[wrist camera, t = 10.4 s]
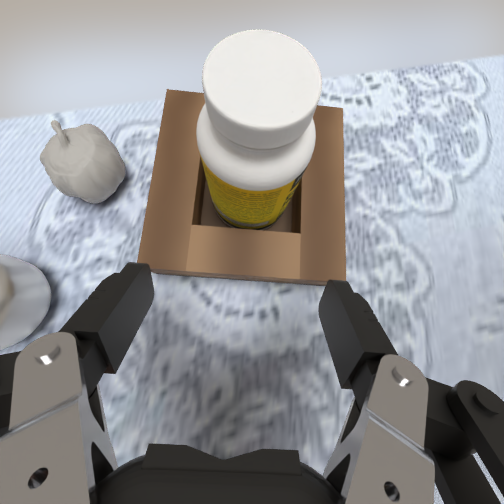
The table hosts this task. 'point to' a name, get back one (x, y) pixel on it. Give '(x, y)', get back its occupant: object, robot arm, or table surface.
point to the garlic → (83, 162)
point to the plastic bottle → (21, 299)
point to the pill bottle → (257, 125)
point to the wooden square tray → (233, 239)
